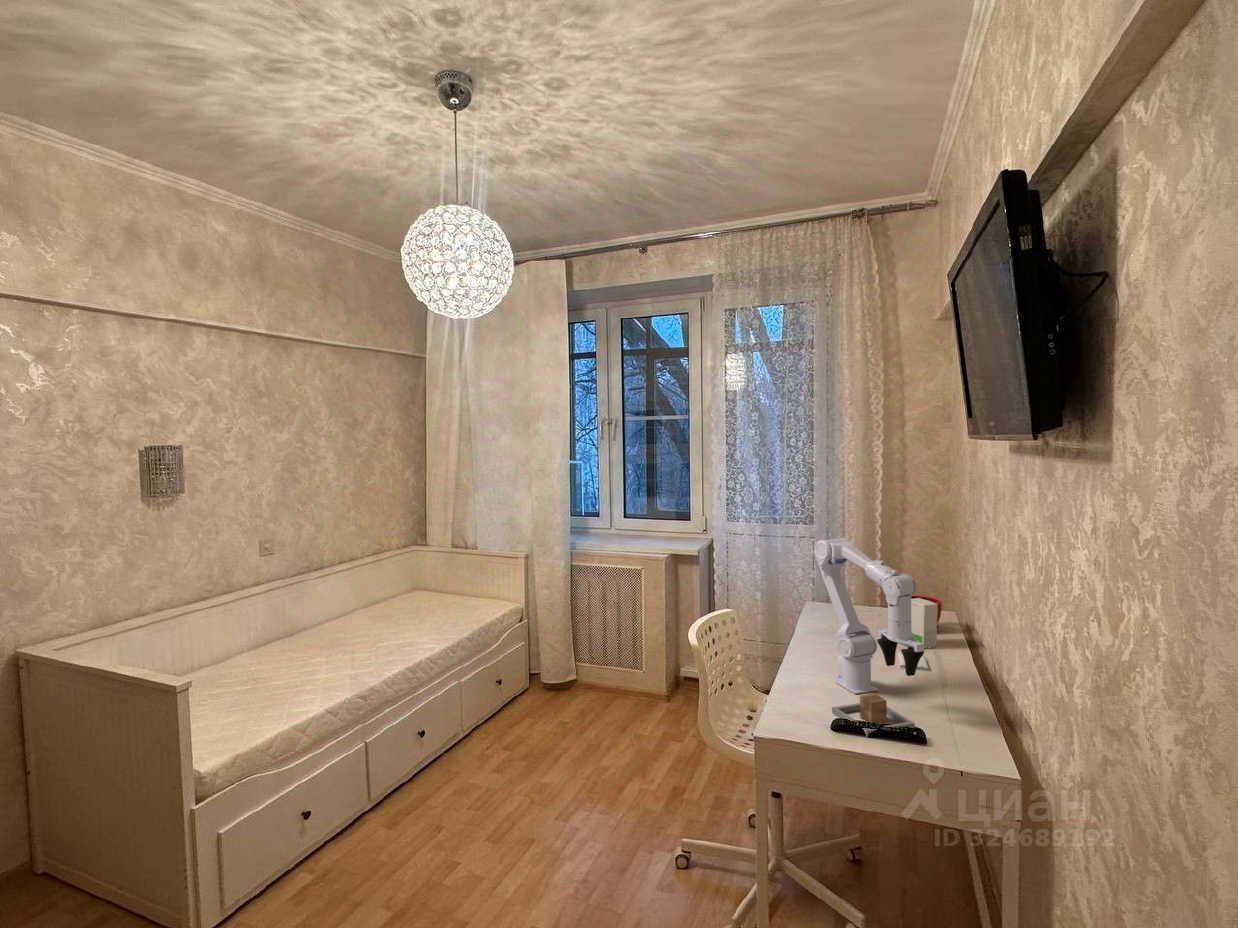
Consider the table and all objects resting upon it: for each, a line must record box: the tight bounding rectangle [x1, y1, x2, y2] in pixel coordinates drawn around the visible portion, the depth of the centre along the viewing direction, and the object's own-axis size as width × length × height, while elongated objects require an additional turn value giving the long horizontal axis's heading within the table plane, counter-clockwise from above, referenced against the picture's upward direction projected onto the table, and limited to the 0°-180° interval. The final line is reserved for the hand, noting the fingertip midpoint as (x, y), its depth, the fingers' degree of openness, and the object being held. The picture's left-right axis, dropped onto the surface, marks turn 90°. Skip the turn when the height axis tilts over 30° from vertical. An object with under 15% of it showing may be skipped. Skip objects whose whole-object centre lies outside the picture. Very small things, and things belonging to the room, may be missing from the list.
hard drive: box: [896, 652, 930, 672], centre depth 195 cm, size 2×8×12 cm
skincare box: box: [911, 598, 938, 650], centre depth 212 cm, size 8×7×16 cm
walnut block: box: [859, 692, 888, 724], centre depth 155 cm, size 4×4×6 cm
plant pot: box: [911, 595, 943, 631], centre depth 228 cm, size 13×13×12 cm
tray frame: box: [831, 702, 916, 738], centre depth 155 cm, size 14×14×2 cm
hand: (900, 670), depth 161 cm, fingers open, 7 cm apart
